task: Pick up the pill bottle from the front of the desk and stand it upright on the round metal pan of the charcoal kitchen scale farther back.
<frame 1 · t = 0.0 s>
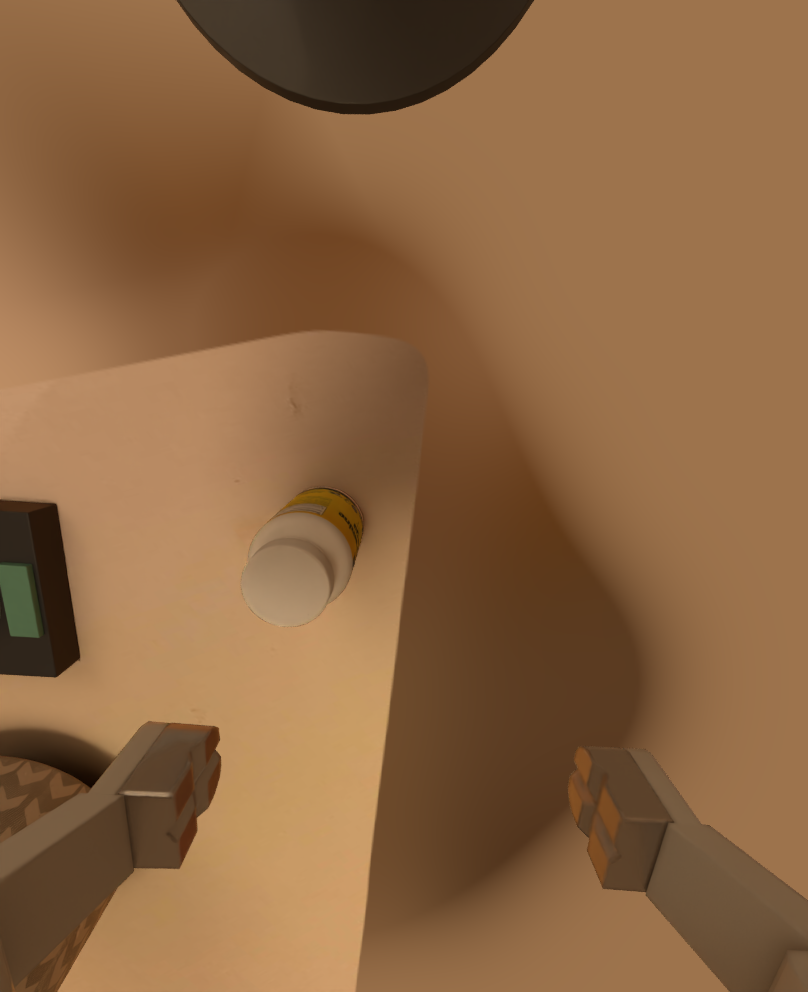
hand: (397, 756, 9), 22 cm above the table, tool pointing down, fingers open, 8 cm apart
pill bottle: (326, 521, 31), on the table
planter: (53, 803, 38), on the table
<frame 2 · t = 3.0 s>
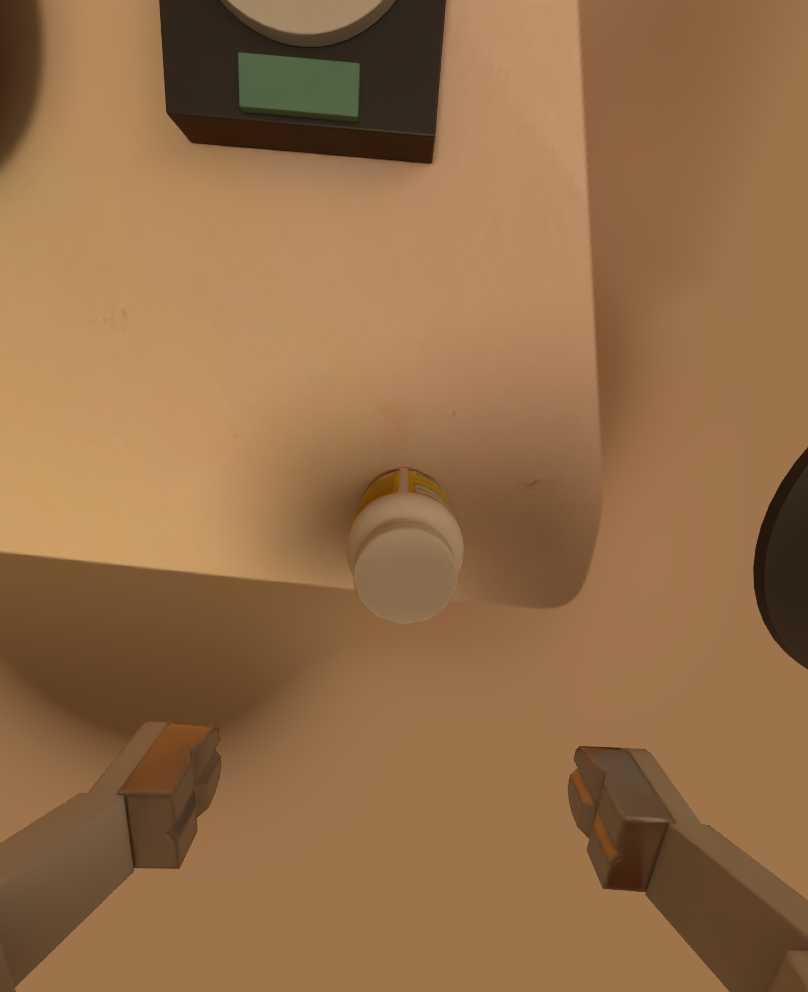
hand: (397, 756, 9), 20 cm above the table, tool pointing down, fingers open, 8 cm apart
pill bottle: (404, 508, 28), on the table
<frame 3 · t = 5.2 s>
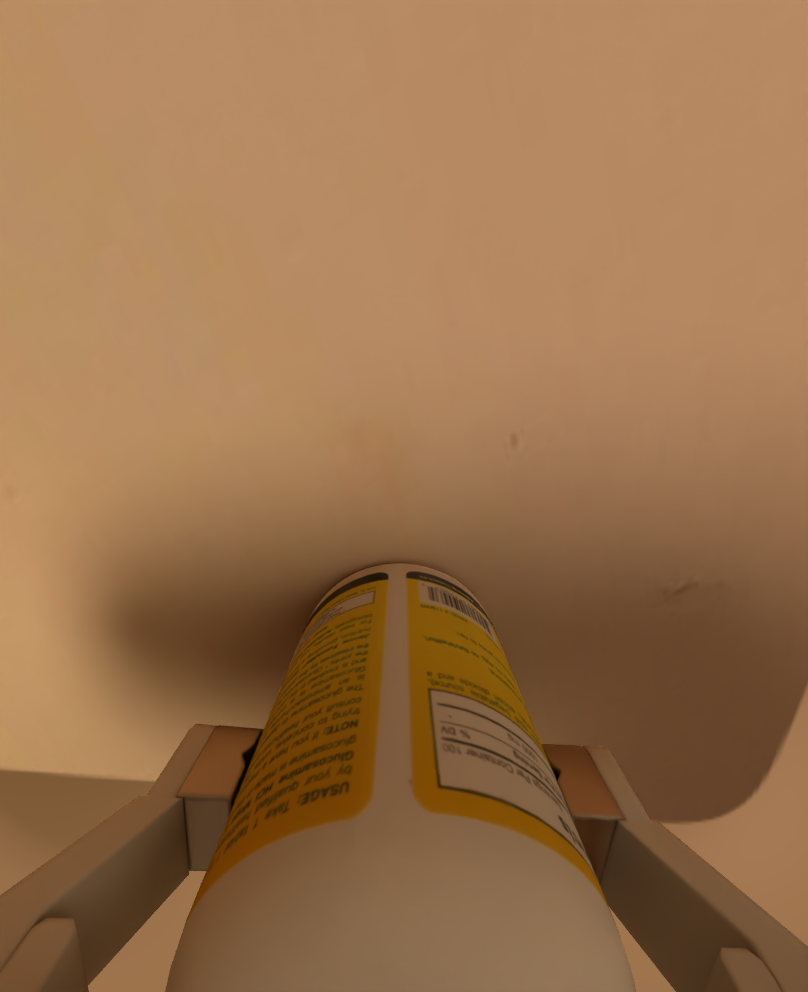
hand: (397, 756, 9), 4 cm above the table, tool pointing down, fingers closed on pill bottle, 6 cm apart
pill bottle: (400, 639, 13), on the table, touching gripper
when the fingers open (7 cm above the table, at t = 13.2 s): pill bottle stays where it is, resting on scale.
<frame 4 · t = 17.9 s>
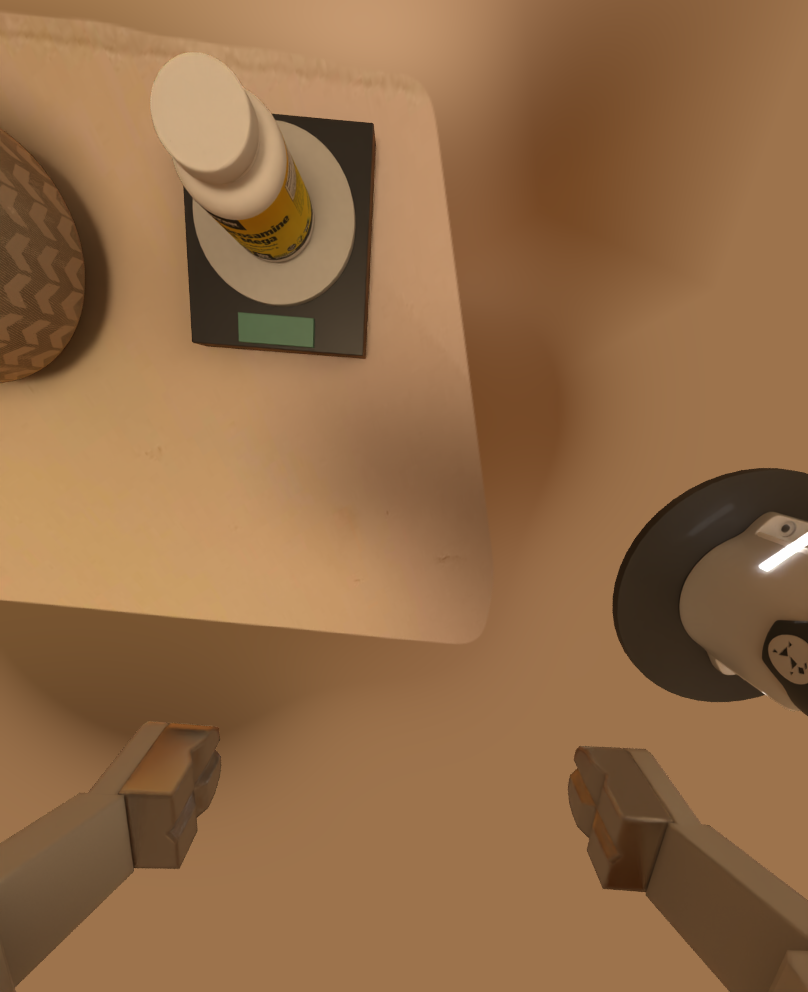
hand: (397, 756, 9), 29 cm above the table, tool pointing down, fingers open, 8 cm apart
pill bottle: (275, 219, 29), point 3 cm above the table, touching scale
planter: (0, 267, 32), on the table
scale: (286, 250, 32), on the table
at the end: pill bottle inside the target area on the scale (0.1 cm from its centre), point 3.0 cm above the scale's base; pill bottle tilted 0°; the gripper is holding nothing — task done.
